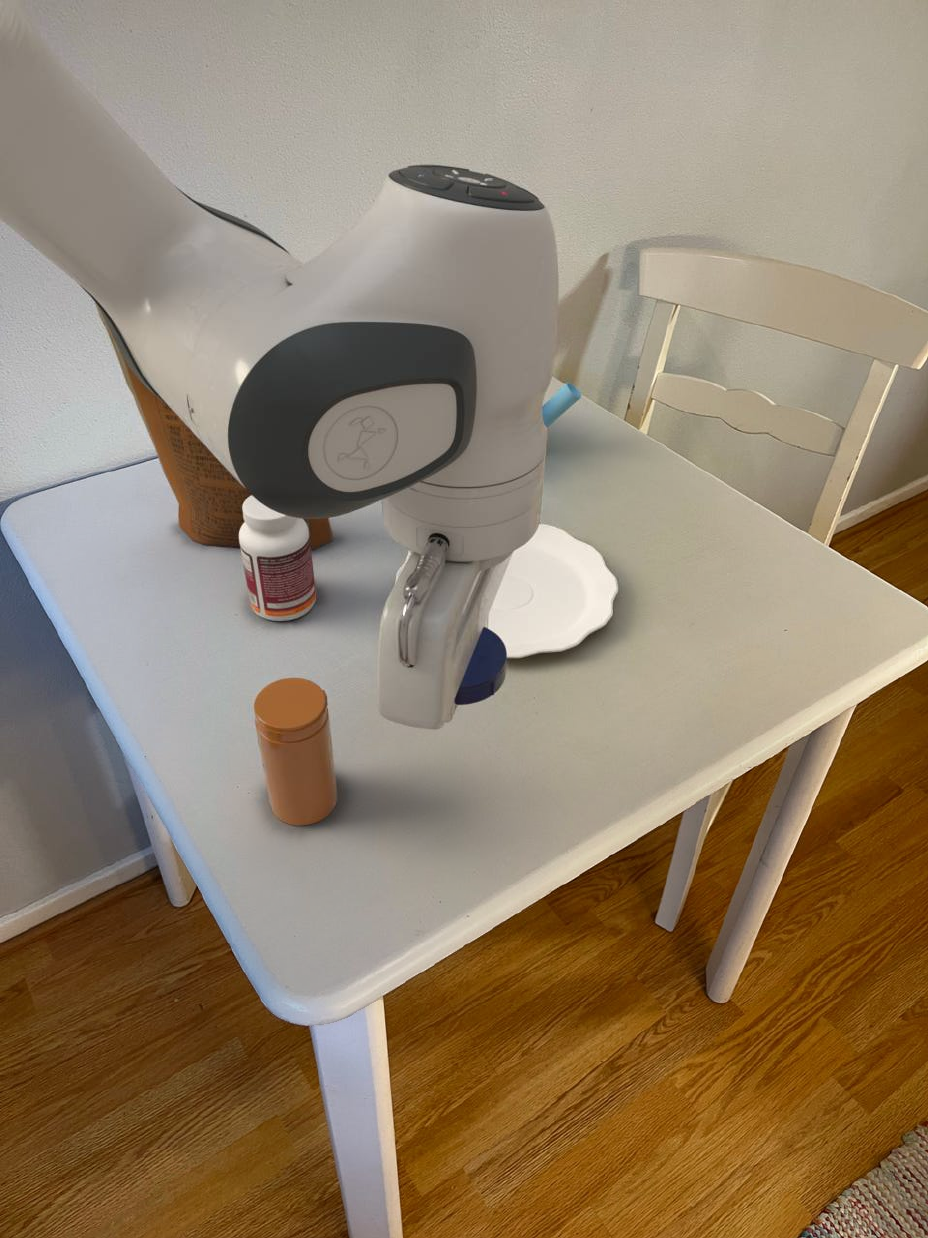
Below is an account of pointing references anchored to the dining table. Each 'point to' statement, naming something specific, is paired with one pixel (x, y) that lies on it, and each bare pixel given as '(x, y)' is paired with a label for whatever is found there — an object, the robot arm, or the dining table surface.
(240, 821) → the dining table surface
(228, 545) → the pancake mix bag
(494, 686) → the jar lid
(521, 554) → the plate
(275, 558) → the pill bottle
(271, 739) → the jar
